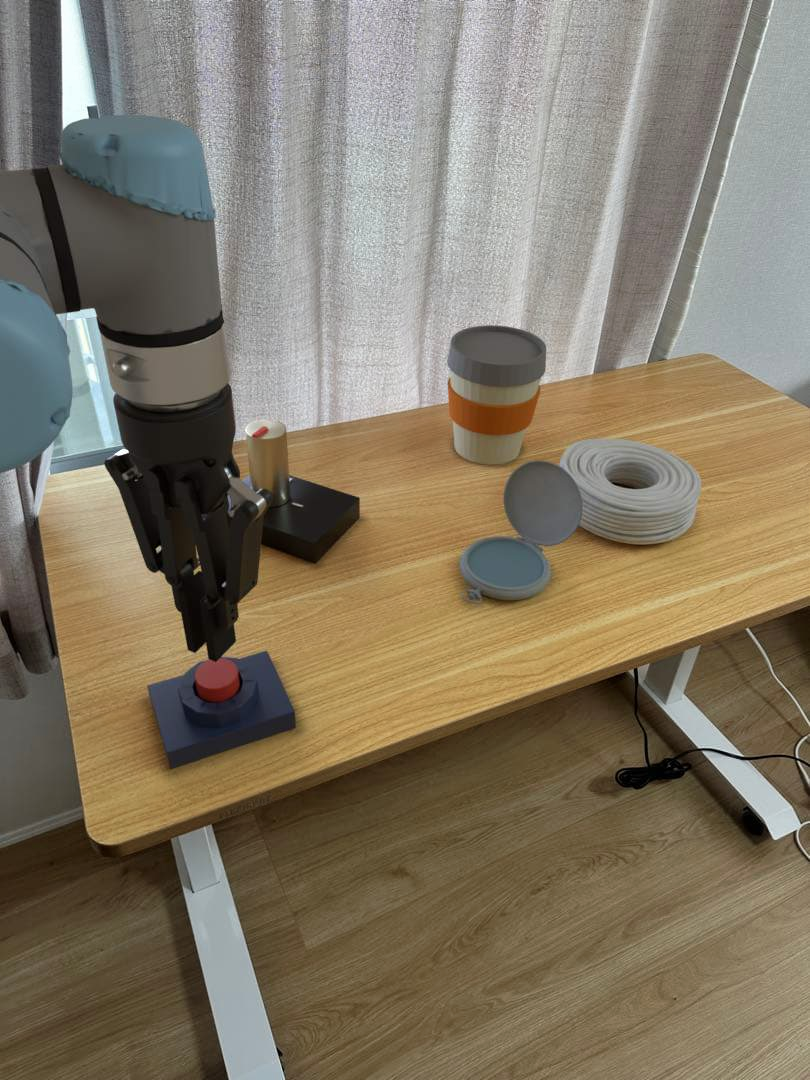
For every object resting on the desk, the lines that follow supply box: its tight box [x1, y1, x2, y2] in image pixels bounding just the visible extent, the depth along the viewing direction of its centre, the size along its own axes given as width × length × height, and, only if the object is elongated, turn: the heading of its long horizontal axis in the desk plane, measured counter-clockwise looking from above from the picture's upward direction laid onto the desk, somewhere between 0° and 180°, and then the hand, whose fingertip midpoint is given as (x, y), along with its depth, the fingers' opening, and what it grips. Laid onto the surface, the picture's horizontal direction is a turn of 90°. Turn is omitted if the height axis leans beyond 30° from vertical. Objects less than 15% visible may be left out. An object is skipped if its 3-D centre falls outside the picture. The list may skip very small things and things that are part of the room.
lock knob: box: [245, 418, 290, 507], centre depth 91 cm, size 4×4×9 cm
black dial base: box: [226, 474, 361, 565], centre depth 94 cm, size 14×10×3 cm
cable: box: [558, 437, 702, 545], centre depth 98 cm, size 18×18×6 cm
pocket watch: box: [458, 459, 583, 604], centre depth 86 cm, size 10×11×15 cm
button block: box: [146, 650, 297, 770], centre depth 71 cm, size 11×8×4 cm
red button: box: [195, 658, 240, 703], centre depth 69 cm, size 4×4×2 cm
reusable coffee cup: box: [446, 324, 547, 466], centre depth 106 cm, size 13×13×15 cm
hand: (212, 645), depth 66 cm, fingers closed
